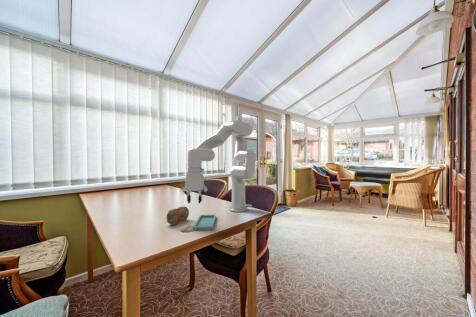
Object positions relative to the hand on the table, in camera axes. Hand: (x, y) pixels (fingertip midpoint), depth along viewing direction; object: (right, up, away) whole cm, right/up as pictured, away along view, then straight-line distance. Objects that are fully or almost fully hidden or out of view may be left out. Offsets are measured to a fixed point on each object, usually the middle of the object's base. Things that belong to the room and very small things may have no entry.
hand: (194, 202), depth 115 cm
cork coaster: (-2, -12, -9) cm, 15 cm away
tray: (+6, -12, 0) cm, 13 cm away
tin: (-10, -12, +3) cm, 16 cm away
